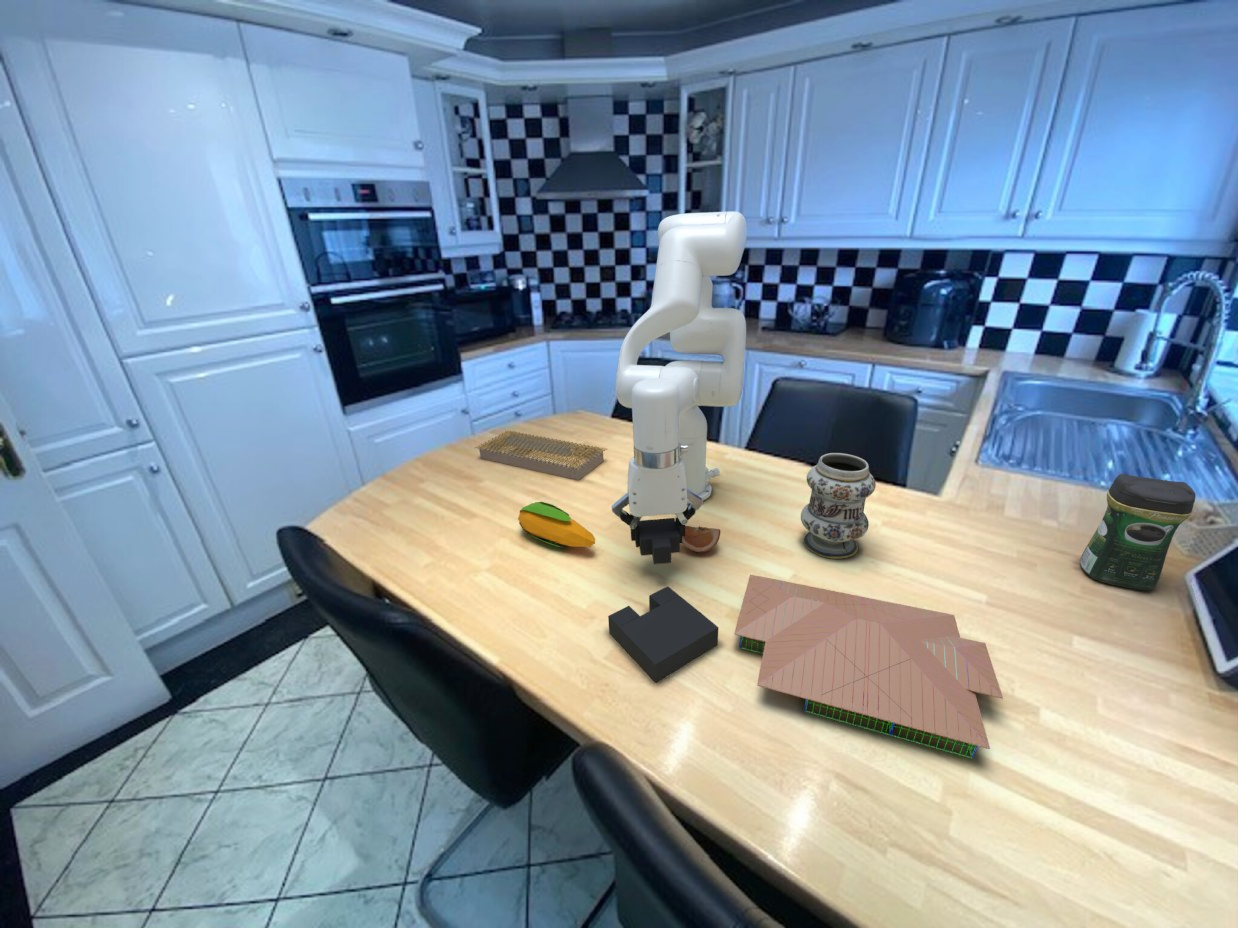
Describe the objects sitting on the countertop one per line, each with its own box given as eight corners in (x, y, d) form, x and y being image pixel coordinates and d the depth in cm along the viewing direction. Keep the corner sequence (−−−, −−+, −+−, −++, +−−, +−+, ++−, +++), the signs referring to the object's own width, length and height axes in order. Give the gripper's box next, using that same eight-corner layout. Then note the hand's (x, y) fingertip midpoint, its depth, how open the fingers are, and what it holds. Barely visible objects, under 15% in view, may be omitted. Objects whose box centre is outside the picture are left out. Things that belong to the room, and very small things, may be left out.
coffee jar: (1143, 570, 89) (1190, 475, 81) (1159, 597, 82) (1212, 497, 74) (1073, 556, 93) (1110, 465, 85) (1083, 580, 87) (1124, 485, 79)
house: (1011, 775, 58) (1033, 726, 54) (721, 692, 69) (724, 648, 66) (970, 635, 77) (984, 593, 73) (748, 589, 88) (752, 550, 85)
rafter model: (476, 458, 144) (472, 439, 141) (509, 440, 155) (506, 422, 152) (579, 482, 128) (577, 460, 125) (608, 460, 139) (606, 439, 137)
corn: (531, 489, 109) (605, 514, 98) (537, 518, 113) (609, 545, 102) (506, 506, 104) (582, 534, 93) (513, 536, 107) (586, 566, 97)
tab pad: (674, 533, 96) (674, 517, 94) (682, 561, 88) (682, 545, 86) (637, 536, 95) (636, 520, 94) (642, 565, 88) (642, 548, 86)
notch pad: (667, 602, 86) (667, 585, 85) (717, 644, 77) (718, 627, 76) (609, 632, 80) (607, 615, 79) (655, 682, 71) (655, 664, 70)
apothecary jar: (864, 534, 102) (880, 453, 94) (862, 568, 92) (880, 481, 84) (801, 523, 107) (811, 444, 99) (793, 554, 97) (804, 470, 89)
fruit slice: (673, 553, 99) (673, 532, 97) (680, 535, 105) (680, 514, 102) (716, 560, 96) (717, 538, 94) (721, 540, 102) (722, 519, 100)
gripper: (702, 440, 88) (700, 525, 96) (603, 448, 87) (609, 533, 95) (713, 459, 81) (709, 549, 89) (605, 468, 81) (611, 557, 89)
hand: (658, 540), depth 92 cm, fingers closed on tab pad, 7 cm apart
